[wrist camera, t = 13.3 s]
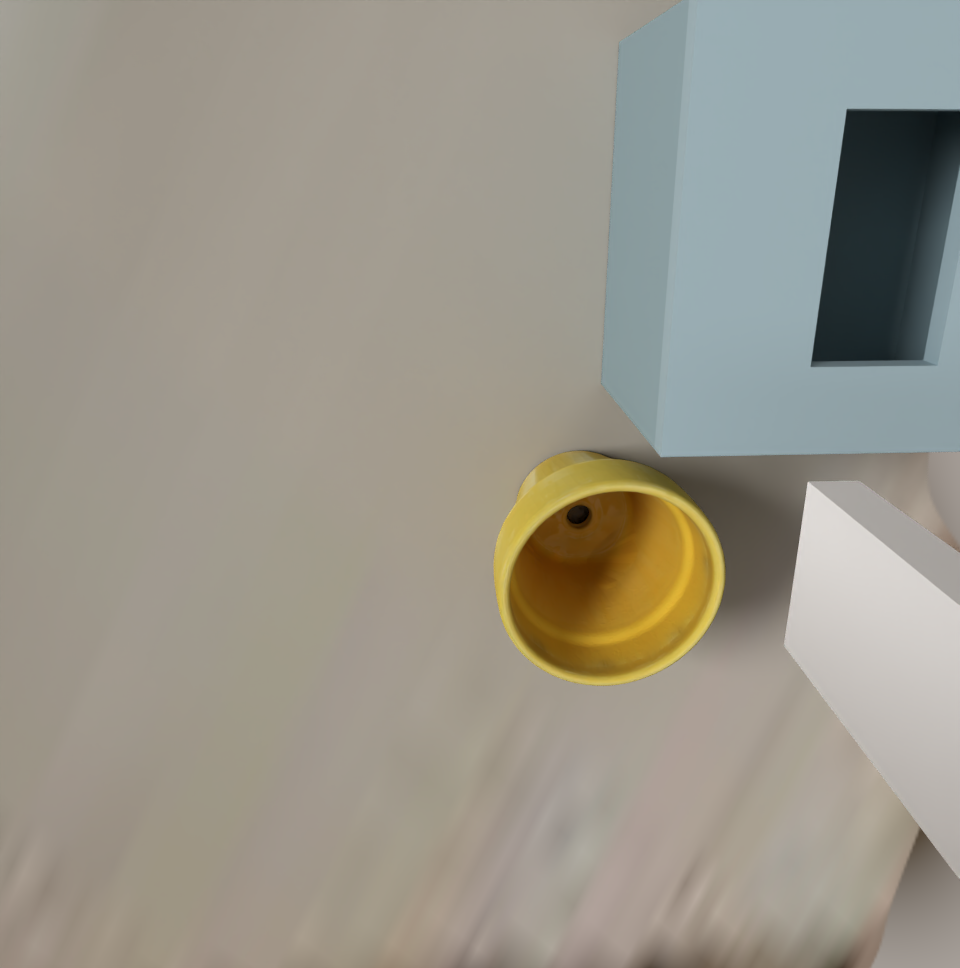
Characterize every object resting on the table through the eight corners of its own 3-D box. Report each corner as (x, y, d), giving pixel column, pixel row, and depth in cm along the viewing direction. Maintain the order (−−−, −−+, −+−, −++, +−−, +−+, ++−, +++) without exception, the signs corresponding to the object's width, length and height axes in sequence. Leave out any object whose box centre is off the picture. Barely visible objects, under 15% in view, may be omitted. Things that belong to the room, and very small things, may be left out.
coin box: (619, 42, 39) (698, -11, 27) (956, 45, 39) (1167, -4, 28) (601, 383, 44) (660, 456, 33) (897, 380, 45) (1053, 449, 34)
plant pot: (675, 575, 48) (733, 670, 39) (497, 604, 48) (514, 705, 39) (662, 403, 45) (722, 463, 36) (470, 434, 45) (481, 502, 36)
